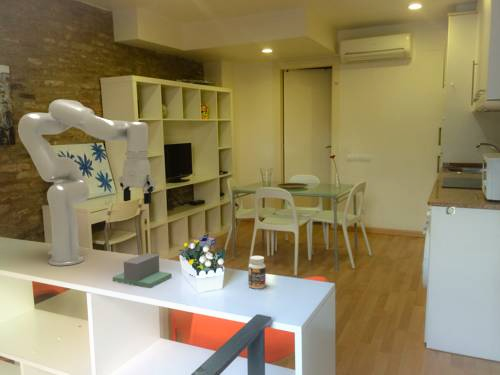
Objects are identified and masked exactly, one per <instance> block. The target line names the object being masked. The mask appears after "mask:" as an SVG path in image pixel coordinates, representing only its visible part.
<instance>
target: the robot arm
mask: <svg viewBox="0 0 500 375" xmlns="http://www.w3.org/2000/svg"><path fill="white" fill-rule="evenodd" d="M72 127H73V128H76V129H79V130H80V131H83V132H84V133H85V134H87V135H88V136H91V137H93V138H96V139H98V140H100V141H104V142H126V151H125V154H124V155H125V156H126V159H124V163H123V166H122V167H123V169H122V175H121V176H120V177H118V182H119V186H120V187H121V190H122V191H123V200H122V201H123V202H129V201H131V198H132V196H131V194H132V193H131V188H137V189H143V191H144V193H143V204H144V205H149V204H151V203H152V193H153V191H154V190H155V189H156V185H157V184H158V183H157V182H158V181H157V180H155V179H154V178H152V176H151V173H152V172H151V165H150V160H149V158H148V157H149V149H148V148H149V147H148V145H149V139H148V138H149V126H148V123H146V122H144V121H126V120H114V119H112V120H110V119H106V118H103V117H100V116H98V115H96V114H95V112H94V110H93V109H91V108H89V107H88V106H87V107H86V106H84V105H83V104H82V103H81V102H79V101H77V100H72V99H71V100H70V99H63V98H62V99H61V98H60V99H56V100H53V101H51V102H50V104H49V107H48V112H29V113H26V114H24V115H23V116H22V117H21V118H20V120H19V122H18V126H17V129H18V130H17V132H18V137H19V139H20V141H21V143H22V144H23V146H24V148H25V149H26V151H27V153H28V154H29V156H30V158H31V160H32V162H33V164H34V166H35V168H36V170H37V172H38V173H39V176H40V177H41V179H42V180H43V181H44V182H47V183H54V182H56V183H55V184H52V185H51V186H50V187H49V188H48V190H47V193H46V199H47V203H48V207H49V212H50V222H51V223H50V224H51V225H50V226H51V240H52V243H51V244H52V248H50V251H47V255H51V258H50V259H49V260H48V262H49V264H50V265H51V266H58V267H60V266H62V267H63V266H72V265H77V264H79V263H81V262H83V261H84V256H83V255H80V249H79V248H80V247H79V225H78V214H77V212H76V210H75V206H74V205H79V204H81V203H85V202H86V201H87V200H88V199H89V197H90V189H89V185H88V183H87V181H86V179H85V178H84V175H83V174H82V171H81V169H80V167H79V165H78V164H77V163H76V161H75V160H74V159H72V158H70V157H68V156H57V154H56V153H55V150H54V148H53V147H52V144H51V143H50V142H49V141H48V139H47V140H46V138H44V137H43V135H45V136H46V135H47V136H48V135H50V136H51V135H52V136H53V135H59V134H61V133H64V132H65V131H67V130H68V129H71V128H72Z"/></svg>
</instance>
